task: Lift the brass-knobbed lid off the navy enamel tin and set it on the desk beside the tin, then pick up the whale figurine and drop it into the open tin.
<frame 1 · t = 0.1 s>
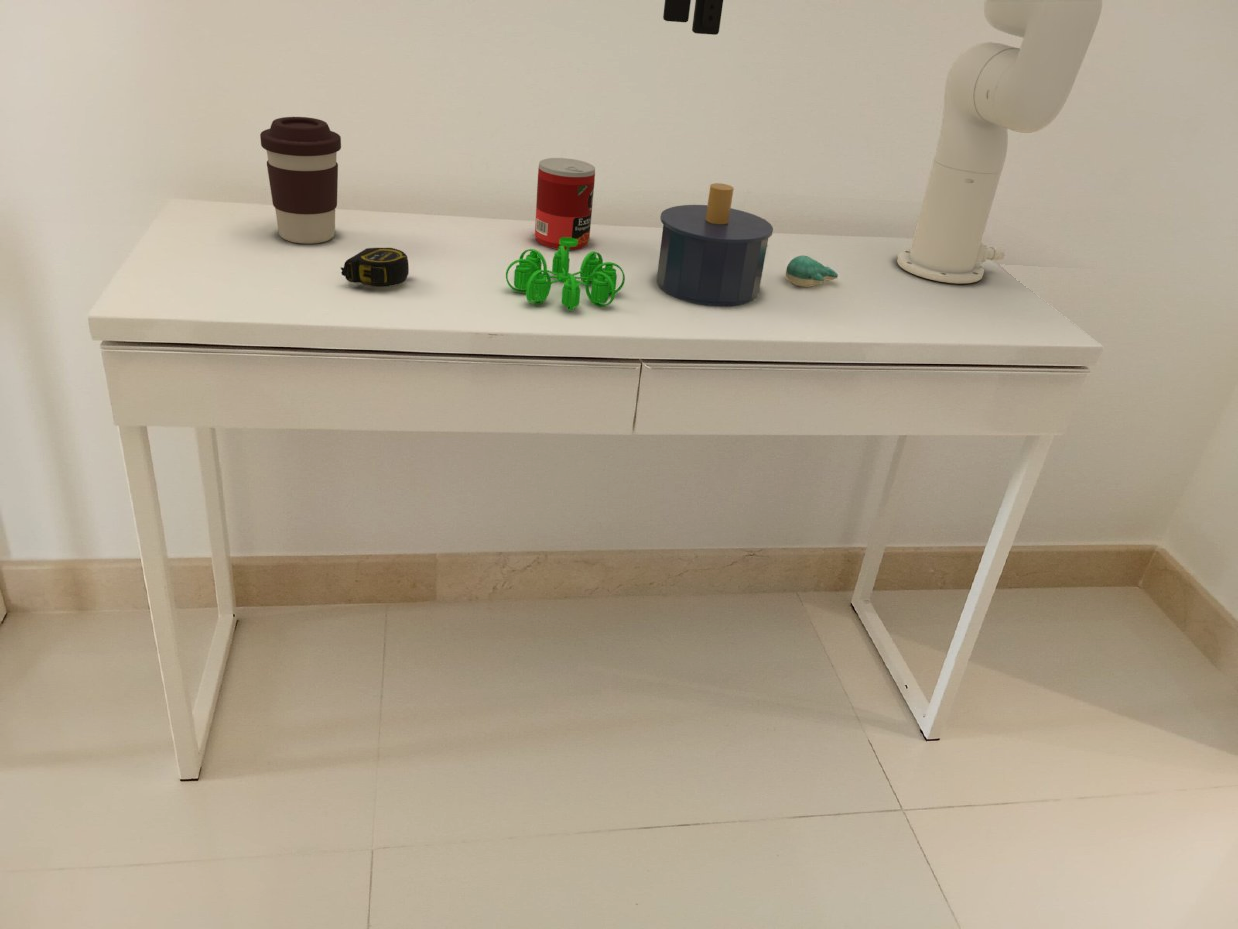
hand: (689, 27, 119), 31 cm above the table, tool pointing down, fingers open, 9 cm apart
tin: (706, 287, 132), on the table
tape measure: (374, 284, 122), on the table
canned food: (561, 243, 143), on the table
whale figurine: (809, 283, 138), on the table
coffee cup: (307, 237, 135), on the table
tin lid: (716, 225, 128), point 8 cm above the table, touching tin
chandelier: (564, 294, 125), on the table
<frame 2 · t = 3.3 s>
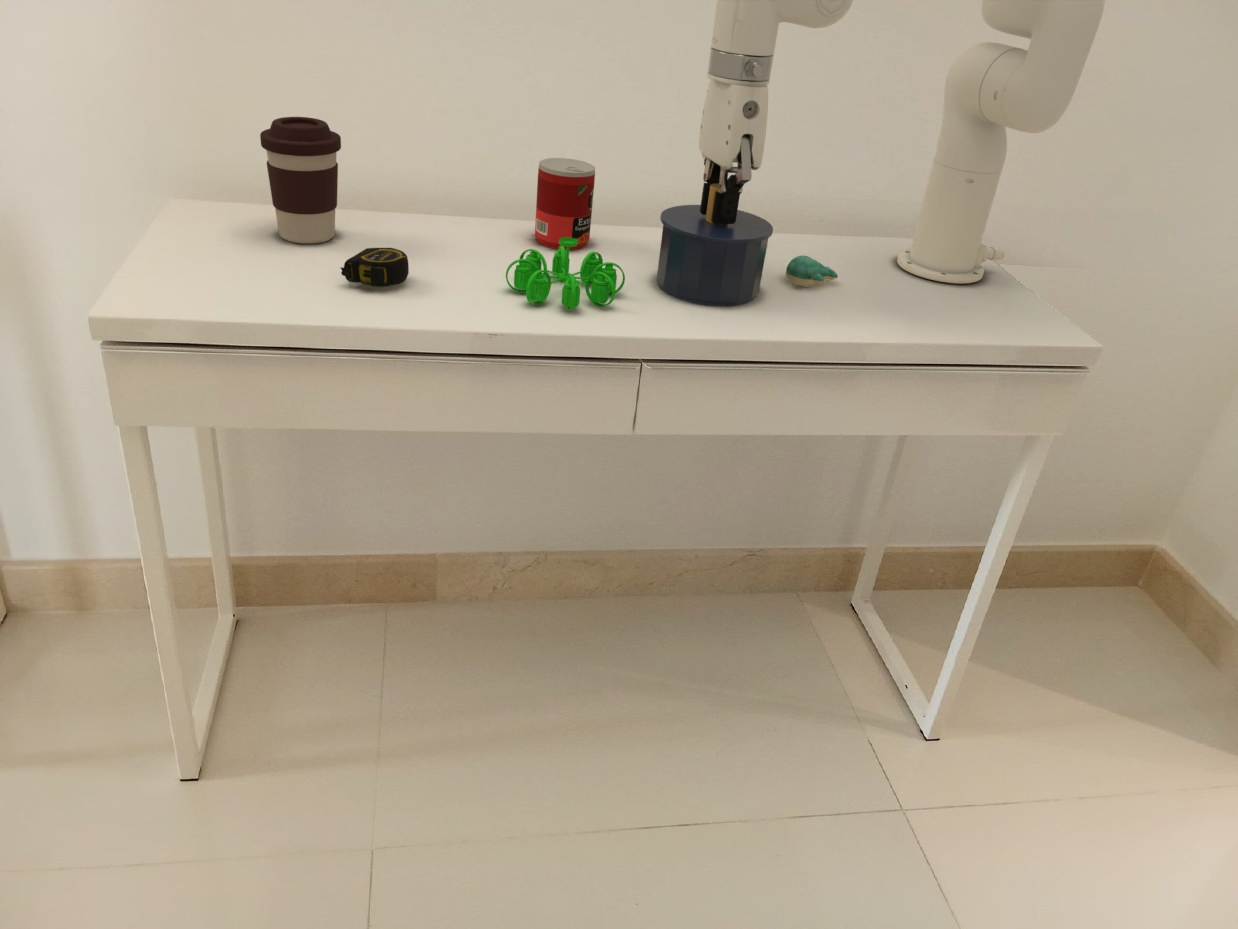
hand: (717, 217, 128), 10 cm above the table, tool pointing down, fingers closed on tin lid, 3 cm apart
tin lid: (716, 224, 128), point 9 cm above the table, touching gripper, tin
everything else where it was.
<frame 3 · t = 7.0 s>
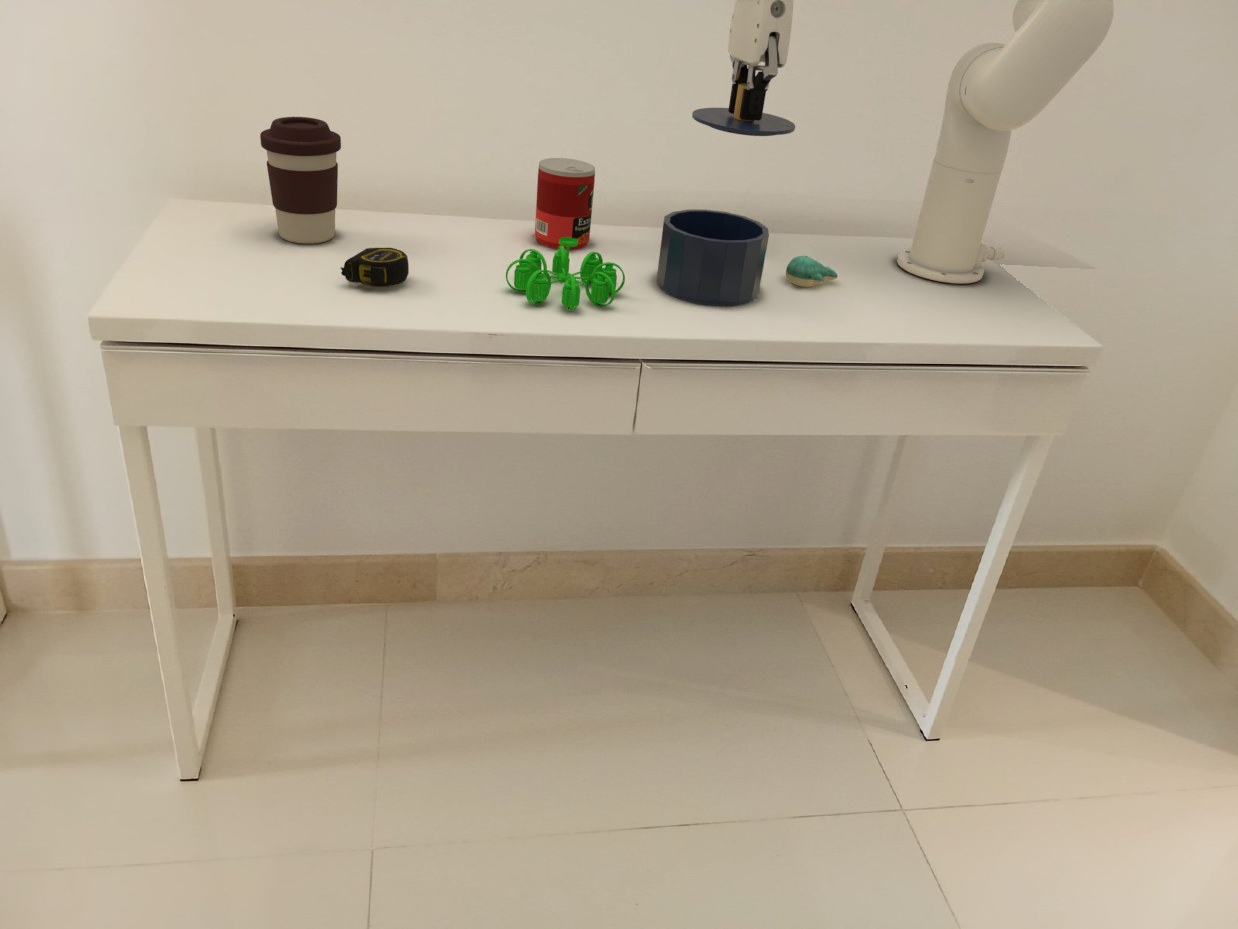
hand: (744, 115, 139), 19 cm above the table, tool pointing down, fingers closed on tin lid, 3 cm apart
tin lid: (743, 122, 140), point 18 cm above the table, touching gripper
everything else where it was.
when the fingers open (2 cm above the table, at t = 10.9 s): tin lid stays where it is, point 1 cm above the table.
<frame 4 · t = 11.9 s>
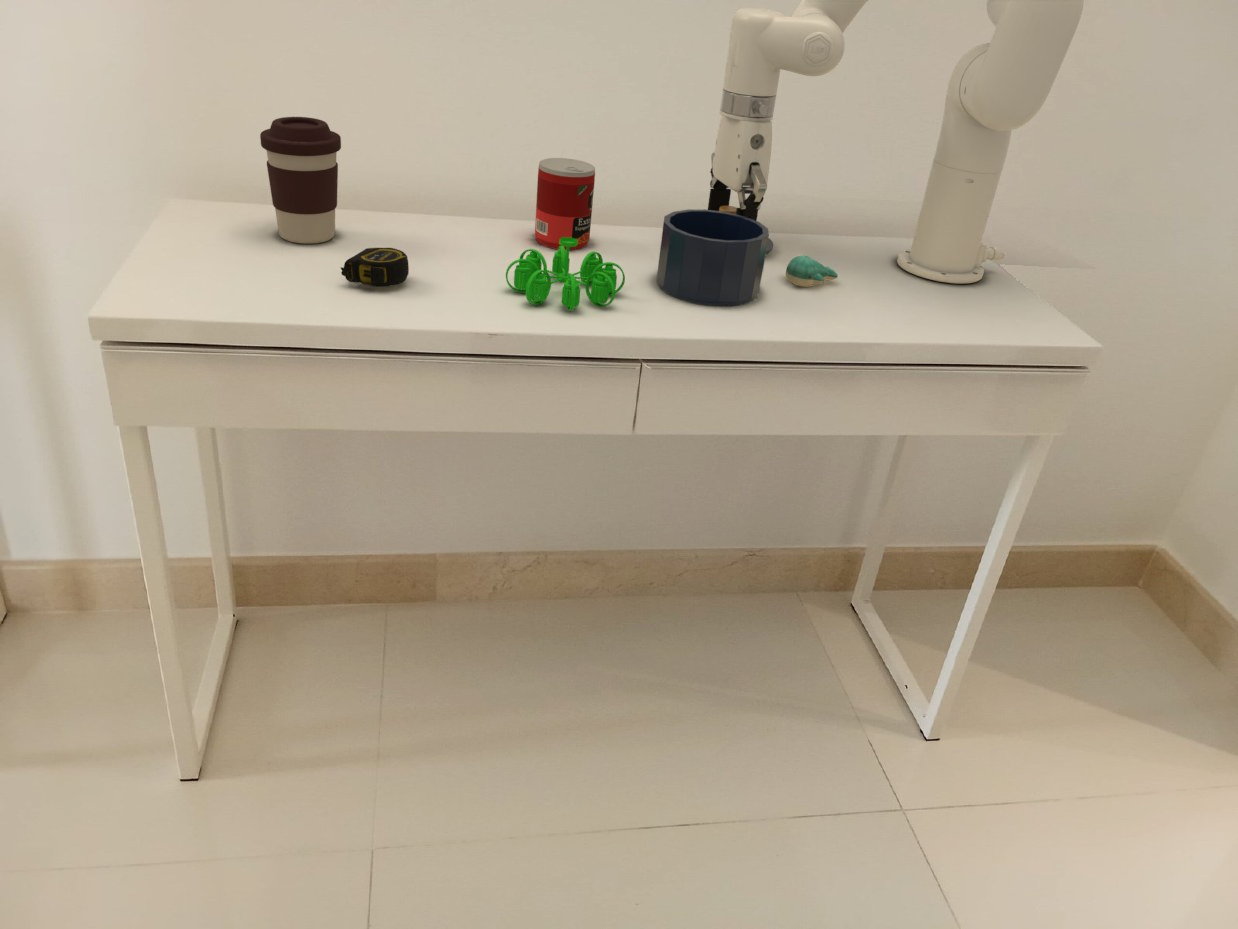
hand: (729, 224, 148), 3 cm above the table, tool pointing down, fingers open, 9 cm apart
tin lid: (724, 241, 149), point 1 cm above the table
everything else where it was.
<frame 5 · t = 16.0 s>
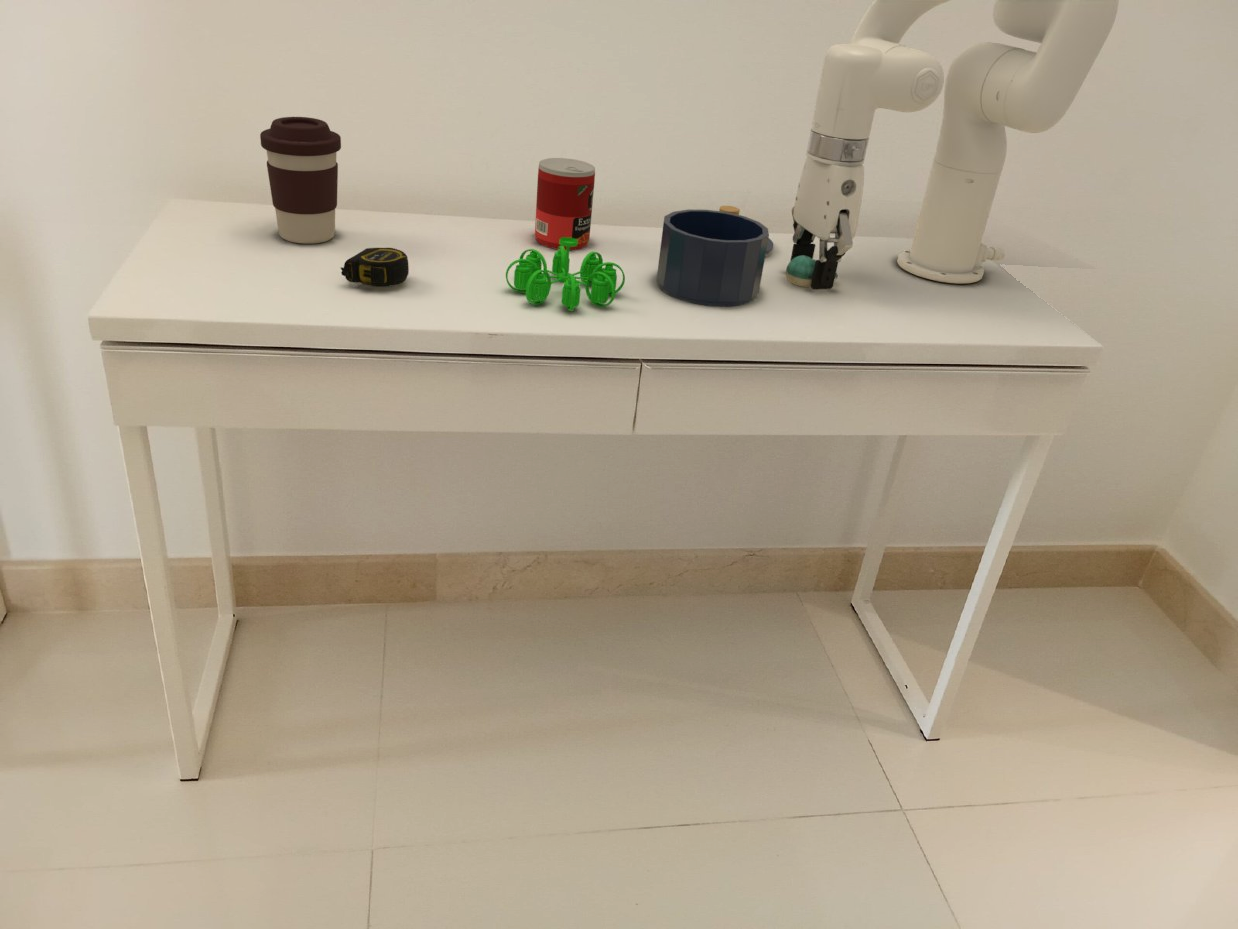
hand: (810, 278, 138), 1 cm above the table, tool pointing down, fingers closed on whale figurine, 5 cm apart
whale figurine: (809, 283, 138), on the table, touching gripper
everything else where it was.
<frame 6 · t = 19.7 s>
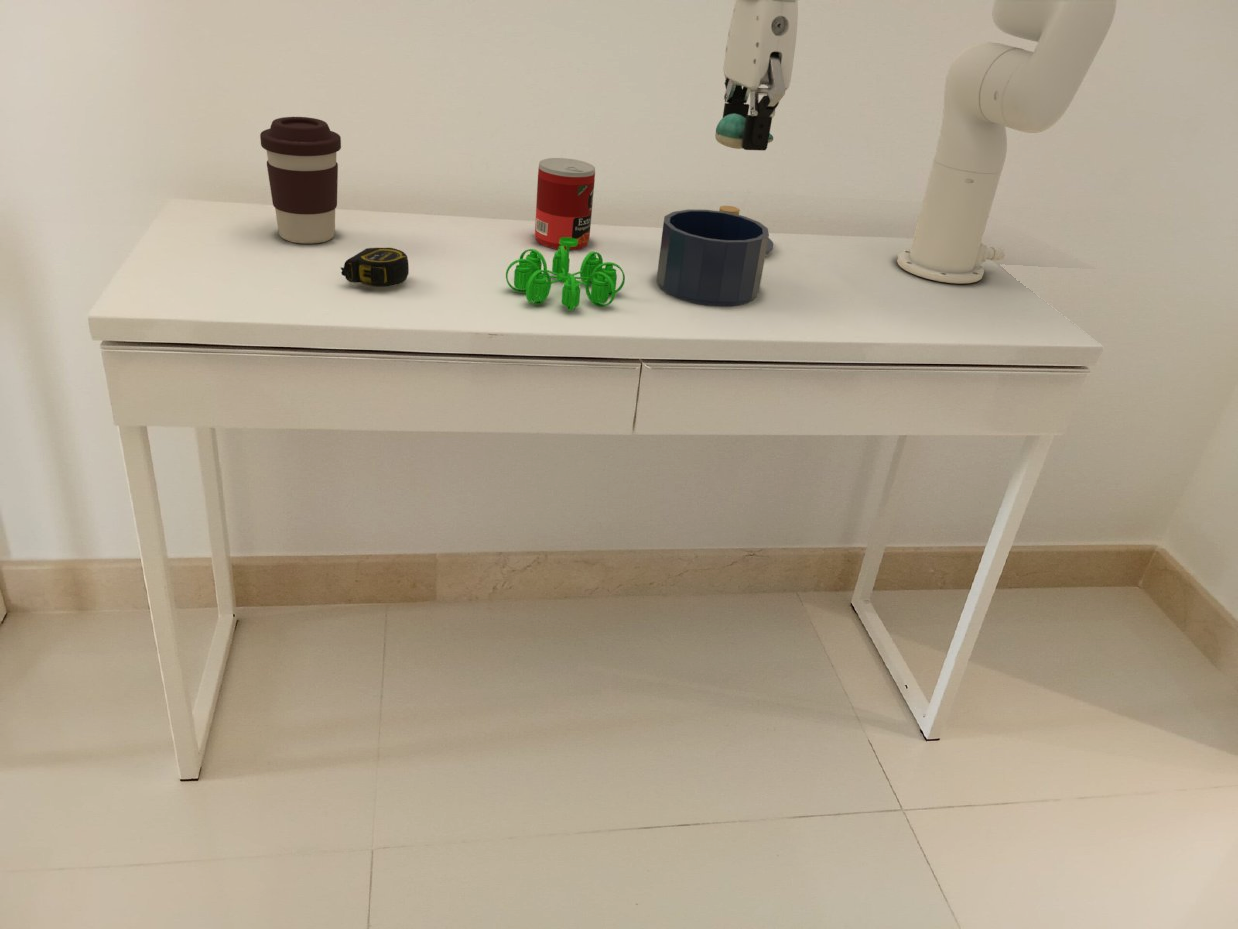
hand: (743, 141, 123), 19 cm above the table, tool pointing down, fingers closed on whale figurine, 5 cm apart
whale figurine: (742, 147, 124), point 18 cm above the table, touching gripper
everything else where it was.
when the fingers open (6 cm above the table, at t = 23.4 s): whale figurine drops 5 cm, resting on tin.
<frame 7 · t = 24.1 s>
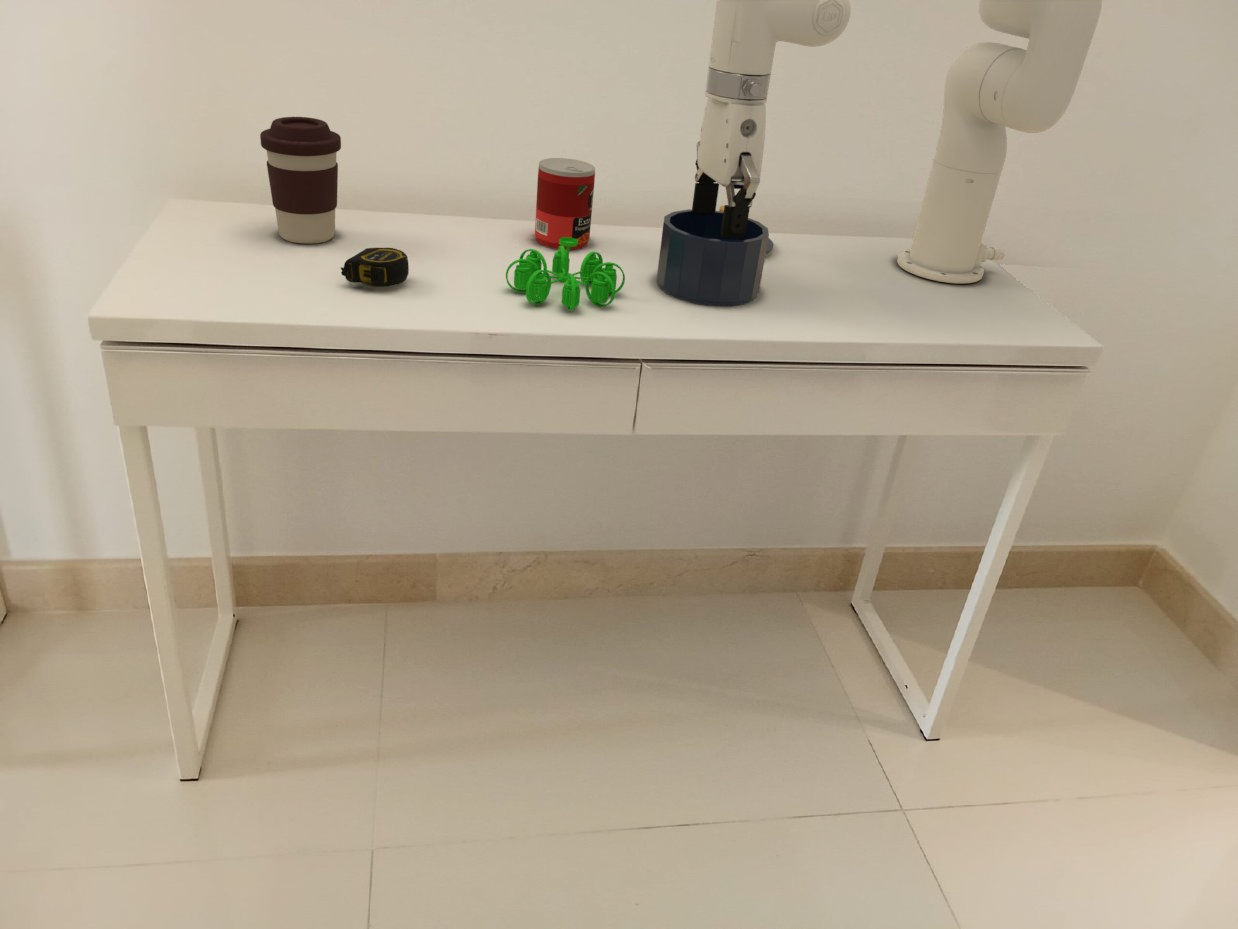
hand: (717, 224, 128), 9 cm above the table, tool pointing down, fingers open, 9 cm apart
whale figurine: (709, 284, 132), resting on tin
everything else where it was.
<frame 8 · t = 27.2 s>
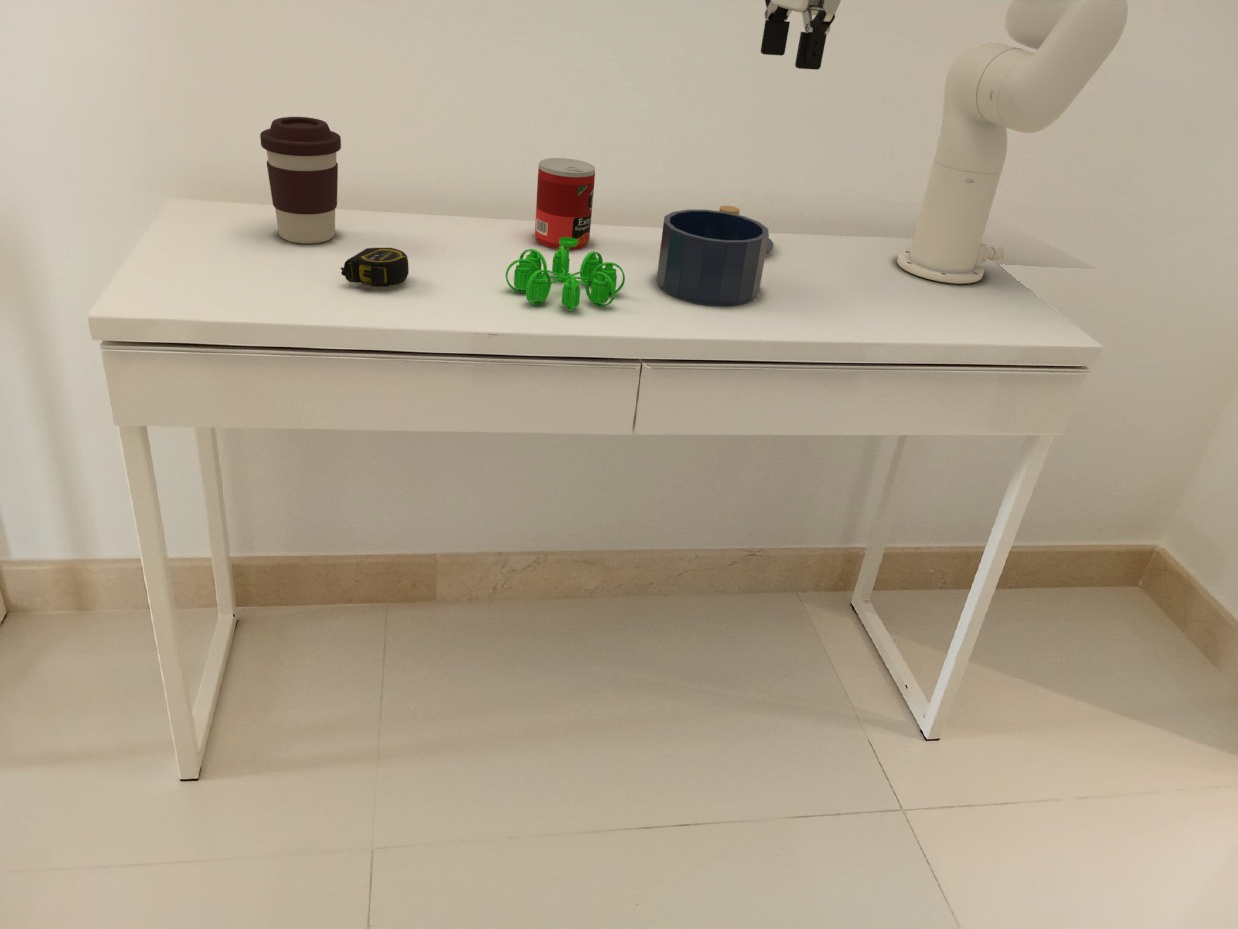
hand: (789, 61, 123), 28 cm above the table, tool pointing down, fingers open, 9 cm apart
nothing on the table moved.
at the end: tin lid inside the target area (0.2 cm from its centre), point 0.6 cm above the table; whale figurine inside the target area in the tin (0.4 cm from its centre), point 0.3 cm above the tin's base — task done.
